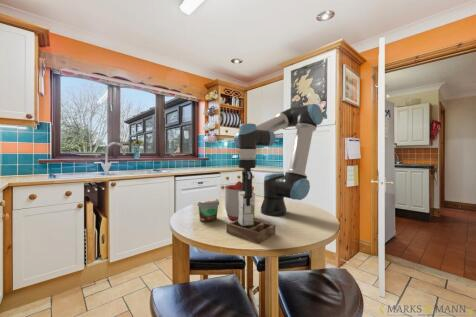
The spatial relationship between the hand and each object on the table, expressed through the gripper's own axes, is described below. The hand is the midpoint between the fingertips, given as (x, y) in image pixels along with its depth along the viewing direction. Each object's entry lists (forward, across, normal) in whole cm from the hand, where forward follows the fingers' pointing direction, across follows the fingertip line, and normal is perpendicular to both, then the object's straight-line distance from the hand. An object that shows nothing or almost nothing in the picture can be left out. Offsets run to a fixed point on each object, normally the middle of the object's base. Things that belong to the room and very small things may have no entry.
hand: (246, 210), depth 97 cm
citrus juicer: (+10, -22, 0) cm, 24 cm away
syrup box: (+6, 0, 0) cm, 6 cm away
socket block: (+10, +2, +2) cm, 10 cm away
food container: (+10, -17, -16) cm, 26 cm away
